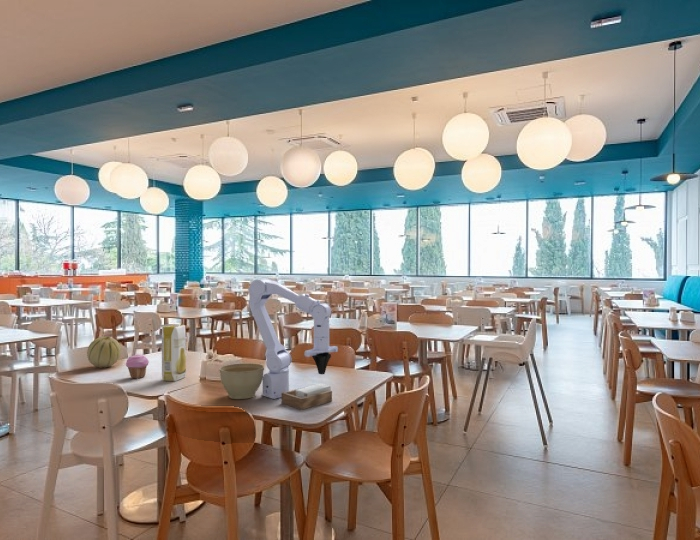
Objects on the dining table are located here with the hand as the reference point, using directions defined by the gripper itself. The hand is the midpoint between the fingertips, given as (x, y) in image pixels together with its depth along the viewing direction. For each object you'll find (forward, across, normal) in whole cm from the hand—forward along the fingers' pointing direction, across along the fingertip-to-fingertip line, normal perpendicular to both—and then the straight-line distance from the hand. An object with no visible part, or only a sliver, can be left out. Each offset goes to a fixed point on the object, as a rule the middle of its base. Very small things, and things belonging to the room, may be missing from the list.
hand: (321, 373), depth 172 cm
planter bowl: (+9, -19, +23) cm, 31 cm away
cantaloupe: (+9, -38, +114) cm, 121 cm away
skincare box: (+6, +2, 0) cm, 6 cm away
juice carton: (+9, -25, +67) cm, 72 cm away
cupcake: (+9, -35, +81) cm, 89 cm away
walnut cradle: (+9, -7, 0) cm, 11 cm away
